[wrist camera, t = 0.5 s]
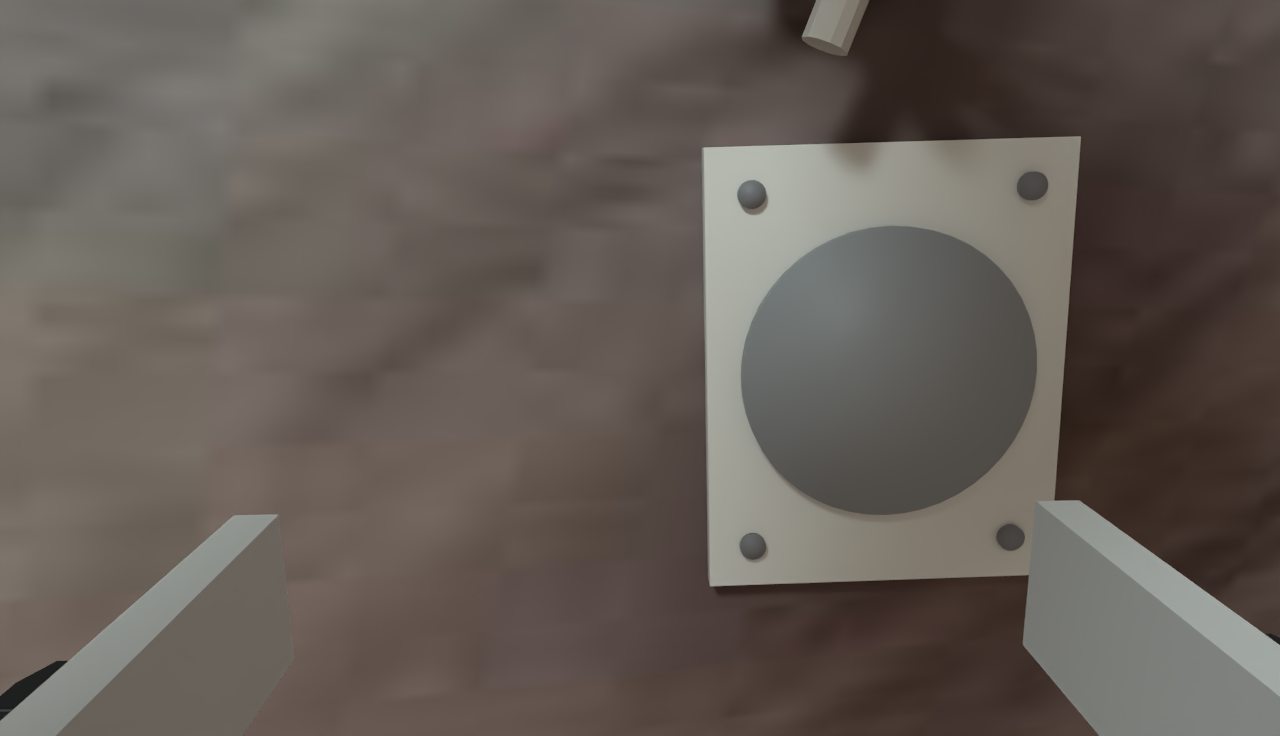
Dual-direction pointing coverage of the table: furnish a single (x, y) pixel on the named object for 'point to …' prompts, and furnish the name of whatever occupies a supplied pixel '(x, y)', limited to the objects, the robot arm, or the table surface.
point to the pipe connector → (834, 25)
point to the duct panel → (883, 355)
